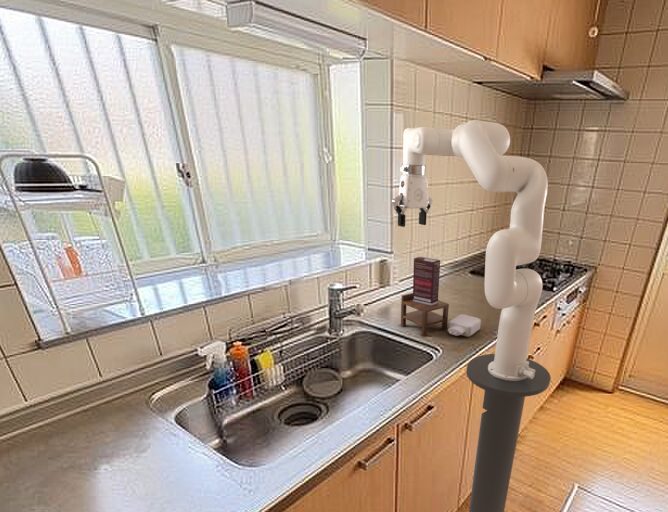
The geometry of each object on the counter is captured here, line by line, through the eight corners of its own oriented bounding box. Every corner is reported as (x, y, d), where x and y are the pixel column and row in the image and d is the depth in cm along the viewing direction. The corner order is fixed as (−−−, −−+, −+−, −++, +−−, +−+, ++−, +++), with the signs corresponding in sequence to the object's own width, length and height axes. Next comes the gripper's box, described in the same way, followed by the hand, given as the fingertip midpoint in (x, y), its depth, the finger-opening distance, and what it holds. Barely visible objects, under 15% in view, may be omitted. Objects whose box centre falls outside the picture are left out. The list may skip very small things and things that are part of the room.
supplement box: (438, 303, 155) (441, 259, 147) (431, 306, 151) (434, 262, 144) (418, 298, 158) (420, 255, 151) (411, 301, 155) (413, 258, 147)
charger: (439, 336, 152) (458, 324, 164) (462, 343, 148) (479, 330, 160) (440, 324, 150) (459, 313, 161) (463, 330, 146) (481, 318, 158)
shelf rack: (446, 329, 159) (449, 298, 154) (423, 336, 151) (425, 304, 146) (423, 319, 167) (425, 290, 162) (400, 325, 159) (401, 295, 154)
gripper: (401, 171, 130) (399, 228, 138) (440, 172, 141) (437, 225, 149) (386, 169, 134) (385, 225, 142) (425, 171, 145) (422, 222, 153)
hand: (412, 225), depth 145 cm, fingers open, 9 cm apart
